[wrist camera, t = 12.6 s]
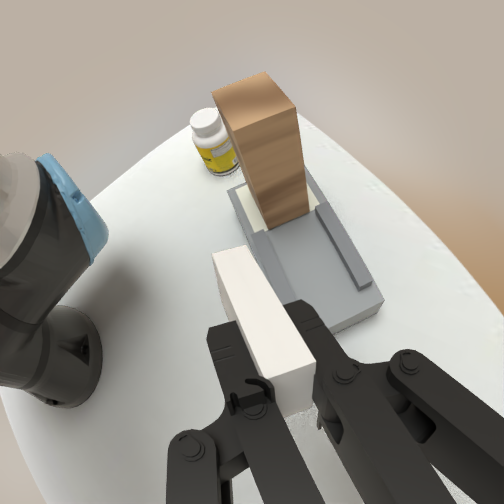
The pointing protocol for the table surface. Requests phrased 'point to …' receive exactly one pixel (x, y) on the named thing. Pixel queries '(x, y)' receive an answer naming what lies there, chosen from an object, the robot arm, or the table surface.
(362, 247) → the table surface
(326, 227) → the grey stand base
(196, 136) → the supplement bottle
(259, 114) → the block
